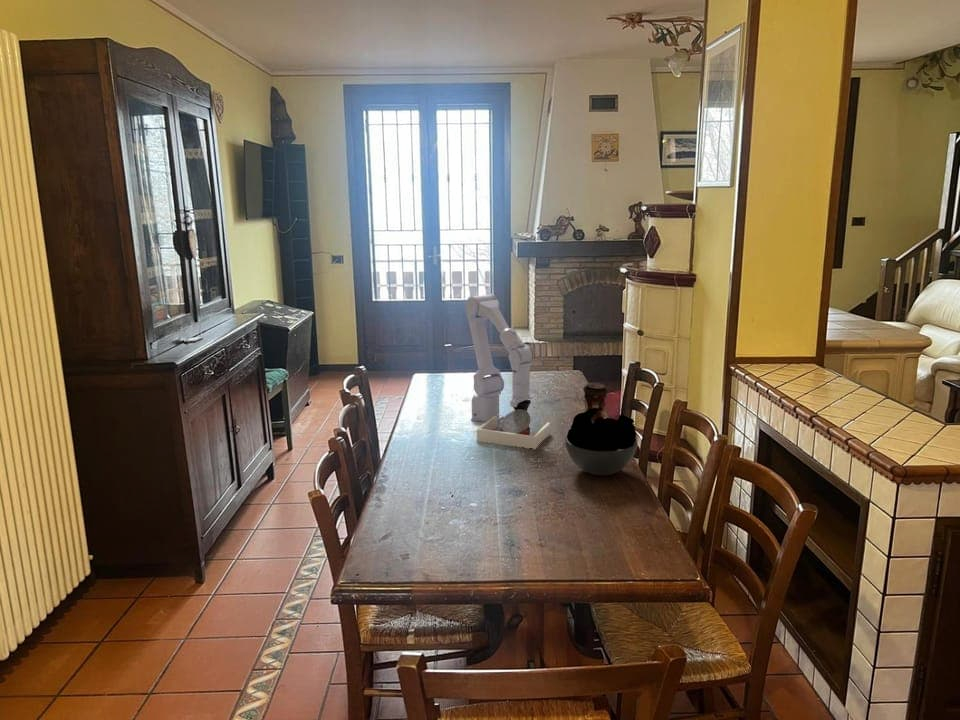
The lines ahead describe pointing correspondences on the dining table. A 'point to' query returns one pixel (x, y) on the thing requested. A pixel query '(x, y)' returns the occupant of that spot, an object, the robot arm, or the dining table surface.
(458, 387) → the dining table surface
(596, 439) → the bowl of black rocks
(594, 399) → the coffee cup
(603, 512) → the dining table surface
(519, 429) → the canned food
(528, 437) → the box
